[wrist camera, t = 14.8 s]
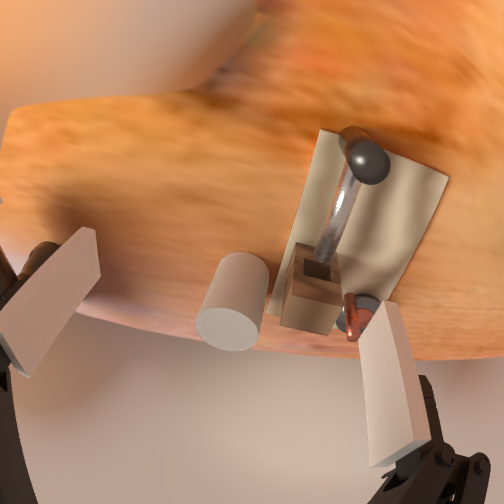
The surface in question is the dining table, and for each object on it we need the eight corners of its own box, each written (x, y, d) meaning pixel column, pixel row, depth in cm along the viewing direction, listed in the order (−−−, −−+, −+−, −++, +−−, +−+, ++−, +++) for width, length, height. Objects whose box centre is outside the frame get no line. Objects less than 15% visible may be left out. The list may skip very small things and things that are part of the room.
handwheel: (322, 296, 45) (323, 342, 38) (370, 278, 42) (380, 323, 34) (344, 334, 49) (347, 378, 41) (388, 319, 46) (397, 363, 38)
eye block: (266, 308, 50) (255, 366, 40) (320, 128, 33) (327, 152, 23) (364, 330, 50) (370, 387, 40) (446, 174, 33) (489, 215, 23)
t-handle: (308, 233, 40) (307, 281, 31) (343, 122, 31) (357, 139, 23) (333, 240, 40) (339, 289, 31) (371, 131, 31) (396, 153, 23)
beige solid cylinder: (231, 298, 50) (213, 354, 40) (209, 259, 46) (183, 313, 36) (277, 287, 47) (268, 347, 37) (257, 245, 44) (241, 302, 34)
